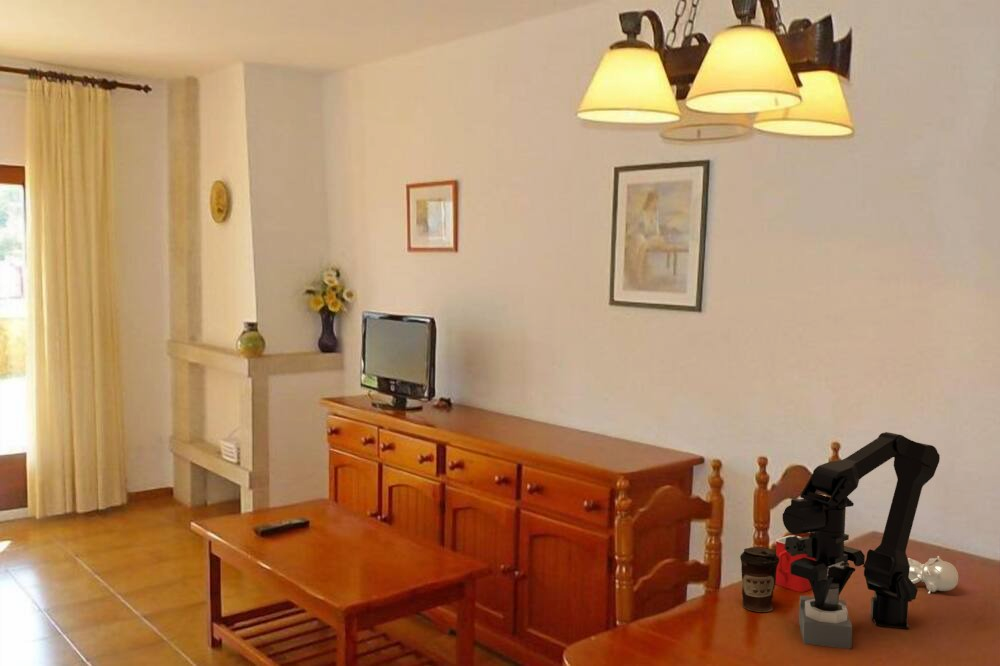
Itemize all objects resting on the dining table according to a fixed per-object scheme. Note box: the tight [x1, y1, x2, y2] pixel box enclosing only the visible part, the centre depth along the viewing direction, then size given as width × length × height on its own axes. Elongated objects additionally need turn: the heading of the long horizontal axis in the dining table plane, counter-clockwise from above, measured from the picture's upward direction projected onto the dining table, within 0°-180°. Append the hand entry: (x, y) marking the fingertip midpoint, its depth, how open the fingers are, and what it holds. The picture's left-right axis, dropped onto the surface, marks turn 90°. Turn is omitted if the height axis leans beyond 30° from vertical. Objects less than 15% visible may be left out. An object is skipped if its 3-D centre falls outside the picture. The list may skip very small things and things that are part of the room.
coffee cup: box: [739, 546, 780, 613], centre depth 197 cm, size 9×8×13 cm
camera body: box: [798, 595, 853, 650], centre depth 183 cm, size 9×12×6 cm
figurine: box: [907, 555, 959, 595], centre depth 213 cm, size 11×7×15 cm
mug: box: [775, 534, 816, 593], centre depth 211 cm, size 12×8×11 cm
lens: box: [814, 579, 840, 612], centre depth 181 cm, size 5×5×6 cm
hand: (826, 603), depth 182 cm, fingers closed on lens, 5 cm apart
